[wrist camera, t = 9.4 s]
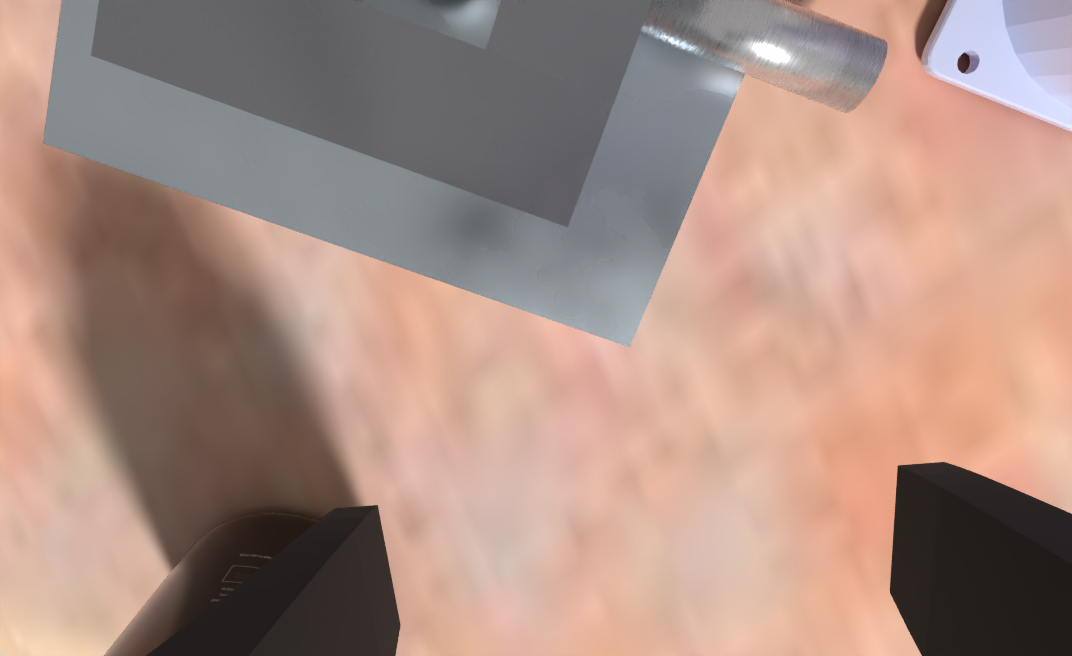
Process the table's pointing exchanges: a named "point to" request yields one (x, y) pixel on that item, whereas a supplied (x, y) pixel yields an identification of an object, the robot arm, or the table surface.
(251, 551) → the supplement bottle
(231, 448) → the table surface
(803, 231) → the table surface
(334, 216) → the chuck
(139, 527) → the table surface
